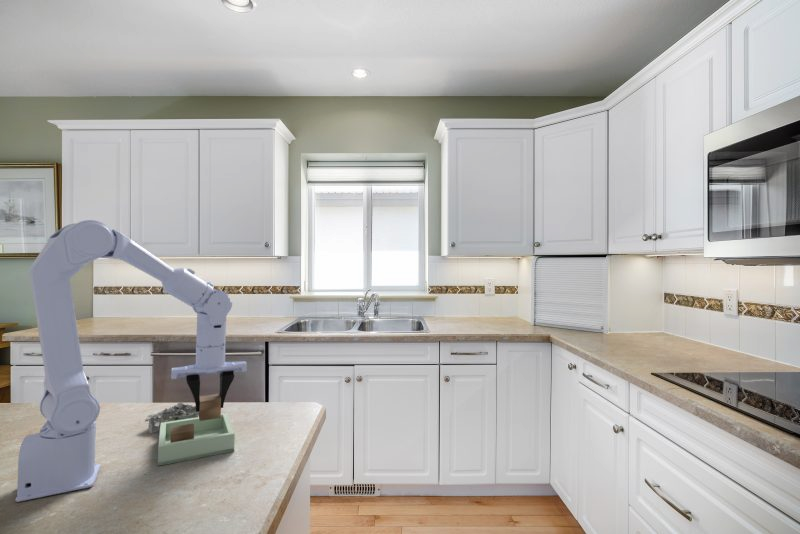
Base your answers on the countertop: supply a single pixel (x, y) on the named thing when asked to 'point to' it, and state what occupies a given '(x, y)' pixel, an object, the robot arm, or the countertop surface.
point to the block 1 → (182, 433)
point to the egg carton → (171, 415)
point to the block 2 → (210, 407)
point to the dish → (196, 440)
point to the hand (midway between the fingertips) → (209, 408)
